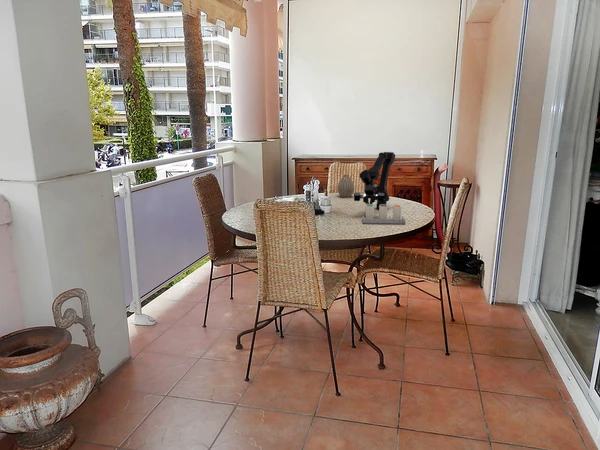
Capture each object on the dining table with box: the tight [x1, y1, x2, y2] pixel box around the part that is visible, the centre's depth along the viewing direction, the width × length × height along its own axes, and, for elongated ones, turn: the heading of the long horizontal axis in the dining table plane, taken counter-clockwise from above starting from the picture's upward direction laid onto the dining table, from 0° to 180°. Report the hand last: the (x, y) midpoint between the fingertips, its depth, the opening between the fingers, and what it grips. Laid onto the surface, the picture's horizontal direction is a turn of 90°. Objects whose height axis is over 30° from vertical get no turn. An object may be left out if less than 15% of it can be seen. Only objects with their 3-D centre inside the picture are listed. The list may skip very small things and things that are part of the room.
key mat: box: [361, 217, 406, 226], centre depth 260 cm, size 12×24×1 cm, turn 83°
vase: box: [336, 173, 355, 198], centre depth 341 cm, size 13×13×18 cm
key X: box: [378, 204, 388, 218], centre depth 261 cm, size 4×4×9 cm
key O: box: [391, 203, 402, 219], centre depth 260 cm, size 4×4×9 cm
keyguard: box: [362, 215, 407, 224], centre depth 259 cm, size 10×24×2 cm, turn 83°
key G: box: [365, 203, 375, 218], centre depth 262 cm, size 4×4×9 cm
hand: (369, 208), depth 266 cm, fingers closed
